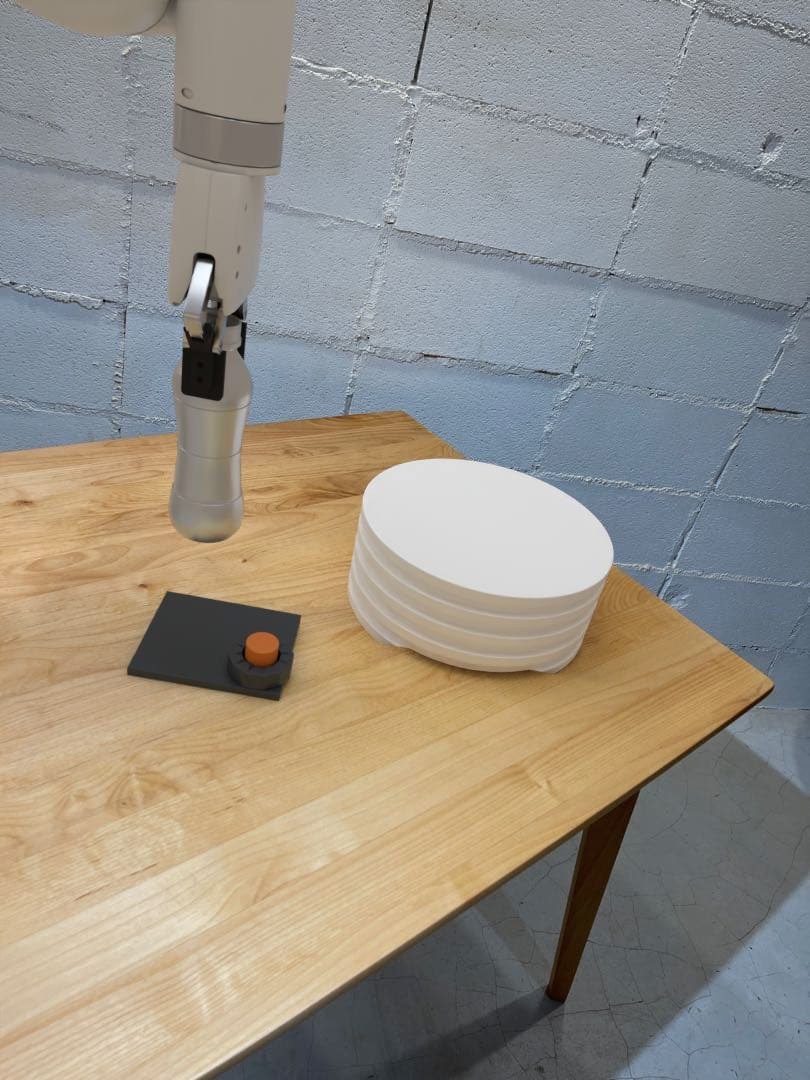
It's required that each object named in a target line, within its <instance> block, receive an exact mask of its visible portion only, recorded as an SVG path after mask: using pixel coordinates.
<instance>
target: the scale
mask: <svg viewBox="0 0 810 1080" xmlns="http://www.w3.org/2000/svg"><path fill="white" fill-rule="evenodd" d="M301 621H302V614H299V613H293V612H287V611H281V610H276V609H270V608H265V607H260V606H254V605H248V604H242V603H237V602H232V601H226V600H220V599H219V600H218V599H214V598H209V597H204V596H199V595H192V594H186V593H181V592H176V591H171V590H166V592H165V593H164V595H163V598H162V599H161V601H160V604H159V606H158V608H157V609H156V611H155V614H154V615H153V617H152V619H151V620H150V623H149V625H148V626H147V629H146V631H145V633H144V634H143V637H142V638H141V640H140V643H139V644H138V646H137V647H136V651H135V652H134V653H133V656H132V658H131V660H130V661H129V663H128V665H127V667H126V676H131V677H138V678H143V679H148V680H154V681H160V682H164V683H165V682H166V683H171V684H176V685H184V686H189V687H195V688H200V689H206V690H211V691H217V692H223V693H228V694H235V695H241V696H246V697H251V698H257V699H263V700H270V701H275V702H280V700H281V697H282V694H283V688H284V686H285V683H286V682H287V681H288V680H289V679H290V677H291V674H292V670H293V666H294V658H295V653H294V647H295V644H296V640H297V636H298V631H299V630H300V626H301ZM257 632H266V633H270V634H272V635H274V636H275V637H276V638H277V639H278V641H279V649H278V657H277V660H276V662H275V663H274V664H272V665H271V666H266V667H259V666H253V665H251V664H250V663H248V662H247V660H246V658H245V649H246V641H247V638H248V637H249V636H250V635H252V634H254V633H257Z"/></svg>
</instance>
